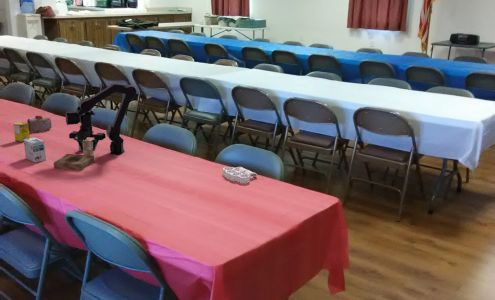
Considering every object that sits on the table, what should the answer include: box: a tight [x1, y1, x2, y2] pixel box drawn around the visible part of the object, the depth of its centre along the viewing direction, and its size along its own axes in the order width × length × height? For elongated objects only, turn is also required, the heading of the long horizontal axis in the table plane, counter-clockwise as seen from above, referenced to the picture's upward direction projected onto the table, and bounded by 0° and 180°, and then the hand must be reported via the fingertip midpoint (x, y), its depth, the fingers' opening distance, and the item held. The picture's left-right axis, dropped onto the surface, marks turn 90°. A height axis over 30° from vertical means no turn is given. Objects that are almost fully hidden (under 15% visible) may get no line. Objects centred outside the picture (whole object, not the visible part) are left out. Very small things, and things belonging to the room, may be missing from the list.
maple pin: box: [82, 138, 95, 156], centre depth 290 cm, size 4×4×9 cm
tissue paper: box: [222, 166, 258, 184], centre depth 264 cm, size 3×18×15 cm
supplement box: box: [13, 121, 31, 144], centre depth 314 cm, size 6×6×11 cm
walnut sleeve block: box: [53, 153, 95, 171], centre depth 277 cm, size 15×15×3 cm
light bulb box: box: [23, 137, 47, 163], centre depth 282 cm, size 11×7×11 cm, turn 47°
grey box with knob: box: [26, 115, 53, 133], centre depth 337 cm, size 14×8×10 cm, turn 132°
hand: (88, 150), depth 290 cm, fingers open, 6 cm apart
